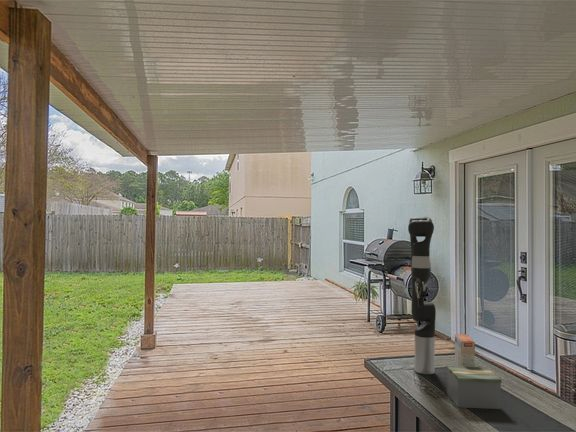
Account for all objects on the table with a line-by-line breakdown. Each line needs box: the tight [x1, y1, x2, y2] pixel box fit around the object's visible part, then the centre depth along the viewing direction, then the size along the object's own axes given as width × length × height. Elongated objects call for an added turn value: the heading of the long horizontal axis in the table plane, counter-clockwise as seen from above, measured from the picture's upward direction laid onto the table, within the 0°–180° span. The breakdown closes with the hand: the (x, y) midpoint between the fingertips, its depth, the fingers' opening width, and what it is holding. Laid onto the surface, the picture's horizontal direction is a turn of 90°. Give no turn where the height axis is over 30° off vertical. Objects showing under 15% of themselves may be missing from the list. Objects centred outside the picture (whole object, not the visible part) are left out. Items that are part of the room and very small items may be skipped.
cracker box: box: [454, 333, 476, 367], centre depth 187 cm, size 14×6×21 cm, turn 168°
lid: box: [445, 365, 502, 384], centre depth 169 cm, size 15×16×1 cm
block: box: [446, 369, 502, 410], centre depth 169 cm, size 14×16×10 cm
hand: (420, 307), depth 181 cm, fingers closed
